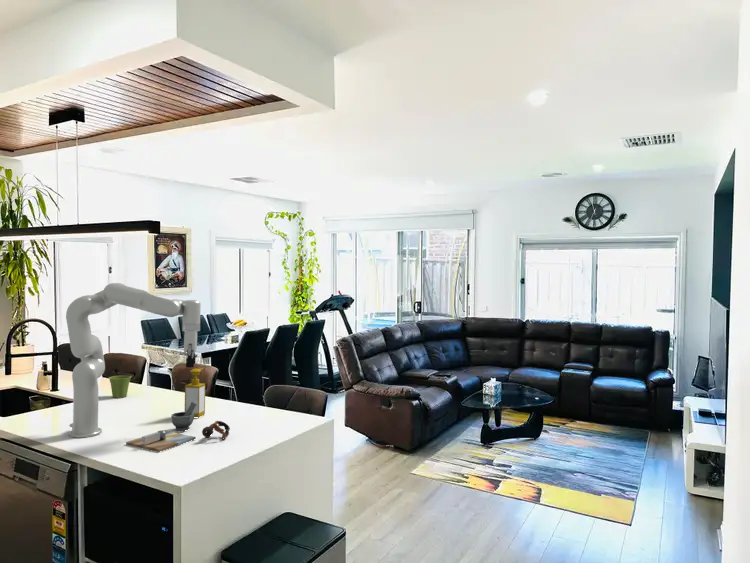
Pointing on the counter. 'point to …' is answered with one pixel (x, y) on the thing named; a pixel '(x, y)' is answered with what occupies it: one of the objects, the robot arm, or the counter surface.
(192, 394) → the white and gold bottle
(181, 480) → the counter surface
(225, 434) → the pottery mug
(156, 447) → the latch board
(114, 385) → the plant pot
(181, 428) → the mortar and pestle
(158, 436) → the bar
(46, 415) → the counter surface
